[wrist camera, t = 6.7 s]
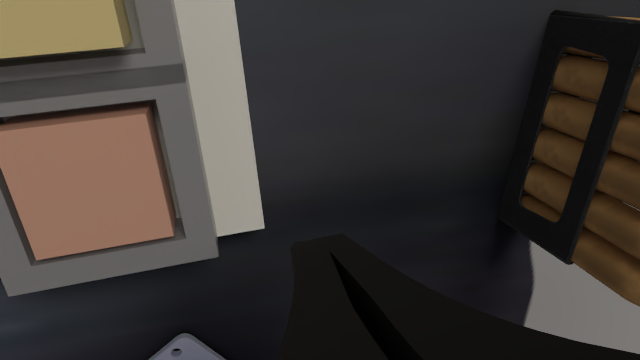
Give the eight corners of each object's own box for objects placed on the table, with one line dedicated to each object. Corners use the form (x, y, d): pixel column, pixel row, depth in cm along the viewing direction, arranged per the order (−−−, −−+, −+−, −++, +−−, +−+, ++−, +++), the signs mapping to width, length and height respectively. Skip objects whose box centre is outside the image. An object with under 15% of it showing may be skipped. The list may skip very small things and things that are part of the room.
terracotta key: (176, 213, 17) (173, 235, 15) (52, 234, 16) (36, 260, 15) (151, 101, 15) (145, 113, 14) (10, 117, 14) (-13, 133, 13)
